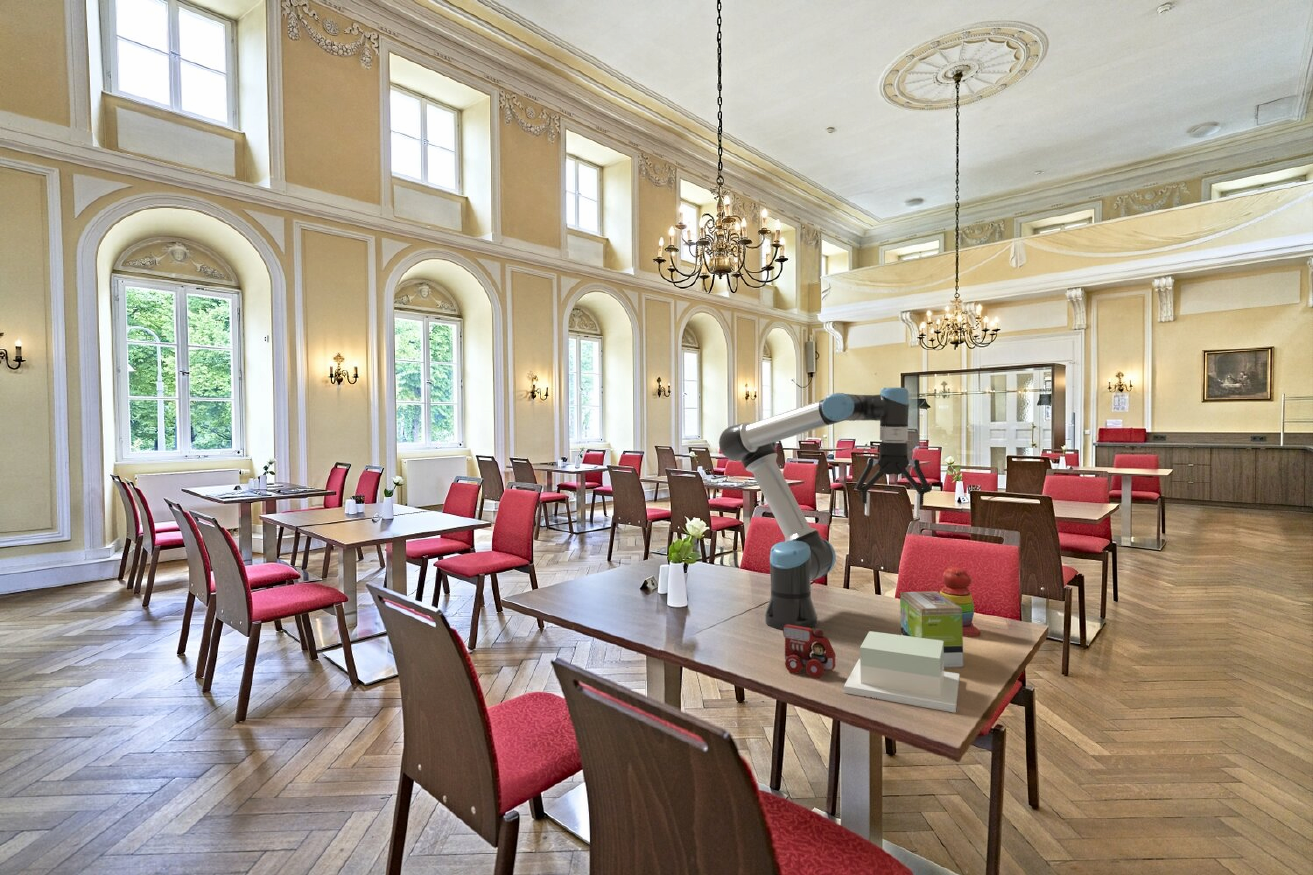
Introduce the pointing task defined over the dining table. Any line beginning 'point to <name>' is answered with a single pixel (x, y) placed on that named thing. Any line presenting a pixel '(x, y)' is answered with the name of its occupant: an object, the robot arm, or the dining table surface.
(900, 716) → the dining table surface
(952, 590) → the stacking bear
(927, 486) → the robot arm
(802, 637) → the toy fire truck
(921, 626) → the tea box
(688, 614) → the dining table surface
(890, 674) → the block on white base
